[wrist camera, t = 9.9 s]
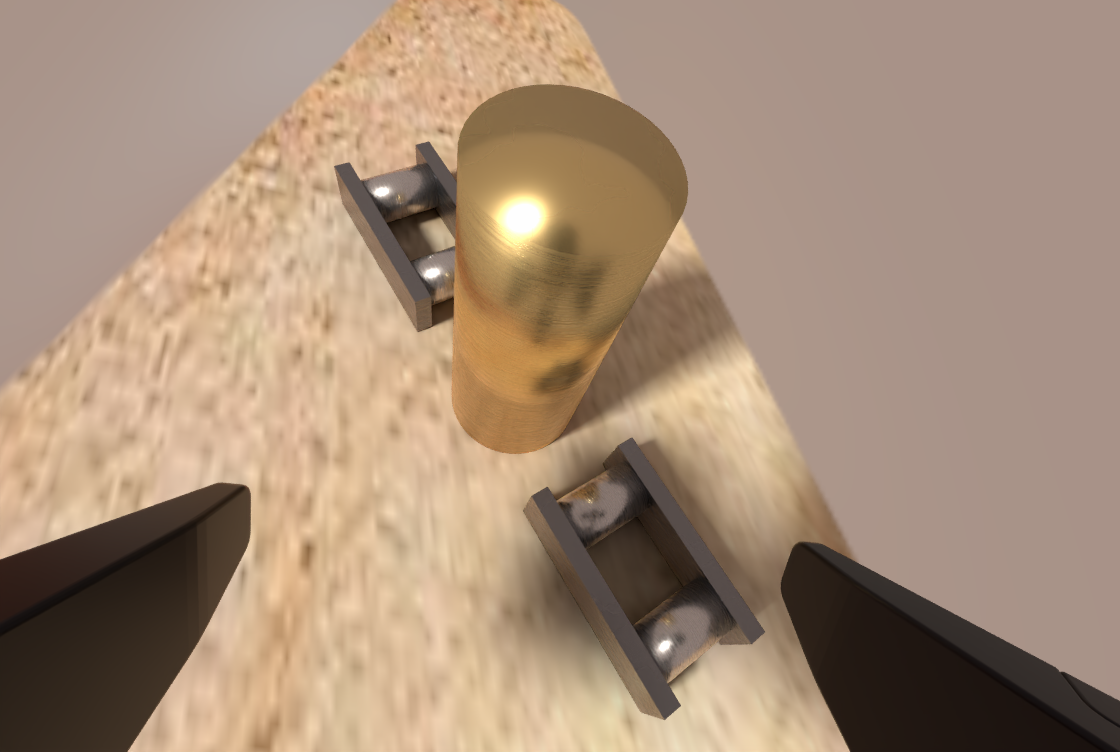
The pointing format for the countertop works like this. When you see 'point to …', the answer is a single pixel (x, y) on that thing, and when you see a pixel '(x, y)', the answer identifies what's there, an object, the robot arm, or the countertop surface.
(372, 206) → the chain end
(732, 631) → the chain end
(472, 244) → the link pin
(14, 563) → the robot arm
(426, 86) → the countertop surface
